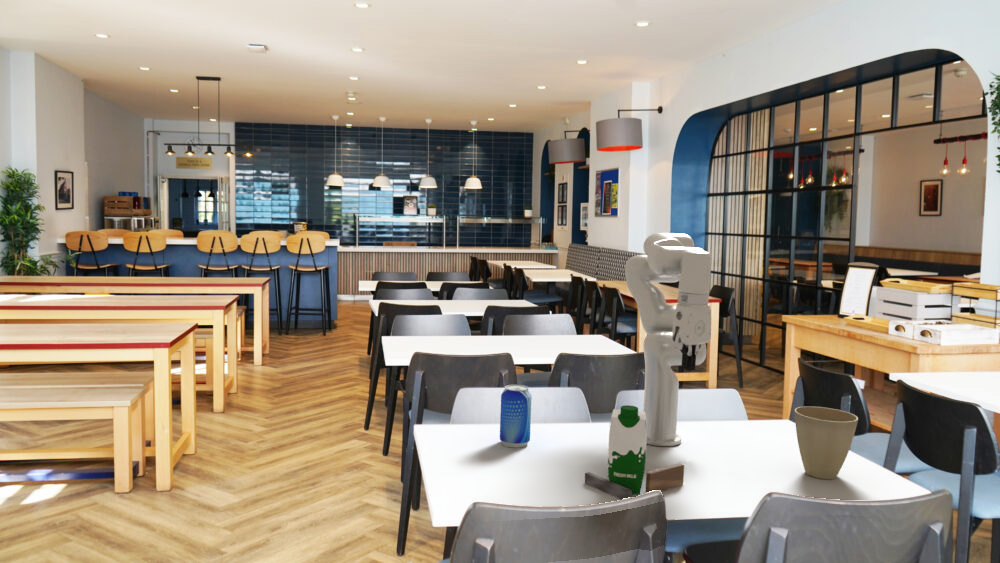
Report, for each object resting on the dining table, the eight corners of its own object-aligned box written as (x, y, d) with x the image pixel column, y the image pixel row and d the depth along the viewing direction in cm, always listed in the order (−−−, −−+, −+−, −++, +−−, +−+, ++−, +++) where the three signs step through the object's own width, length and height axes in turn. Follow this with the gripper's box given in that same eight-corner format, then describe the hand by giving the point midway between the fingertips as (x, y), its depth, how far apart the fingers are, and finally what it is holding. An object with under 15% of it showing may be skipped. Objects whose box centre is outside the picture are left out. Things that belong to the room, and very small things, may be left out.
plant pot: (848, 489, 185) (853, 425, 184) (784, 476, 193) (789, 414, 191) (857, 472, 198) (861, 412, 196) (796, 460, 206) (801, 403, 204)
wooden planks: (584, 483, 183) (585, 462, 183) (640, 468, 195) (641, 449, 195) (627, 501, 172) (628, 480, 172) (683, 485, 184) (685, 465, 184)
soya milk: (605, 492, 178) (609, 408, 176) (607, 479, 186) (611, 399, 184) (644, 496, 176) (648, 411, 174) (644, 482, 185) (648, 402, 183)
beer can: (494, 445, 210) (496, 388, 208) (506, 437, 218) (508, 382, 216) (523, 450, 207) (525, 392, 205) (533, 441, 215) (536, 386, 213)
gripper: (684, 303, 186) (679, 376, 189) (724, 299, 195) (718, 369, 197) (661, 298, 193) (656, 369, 195) (701, 295, 201) (696, 363, 204)
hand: (688, 369), depth 196 cm, fingers closed
